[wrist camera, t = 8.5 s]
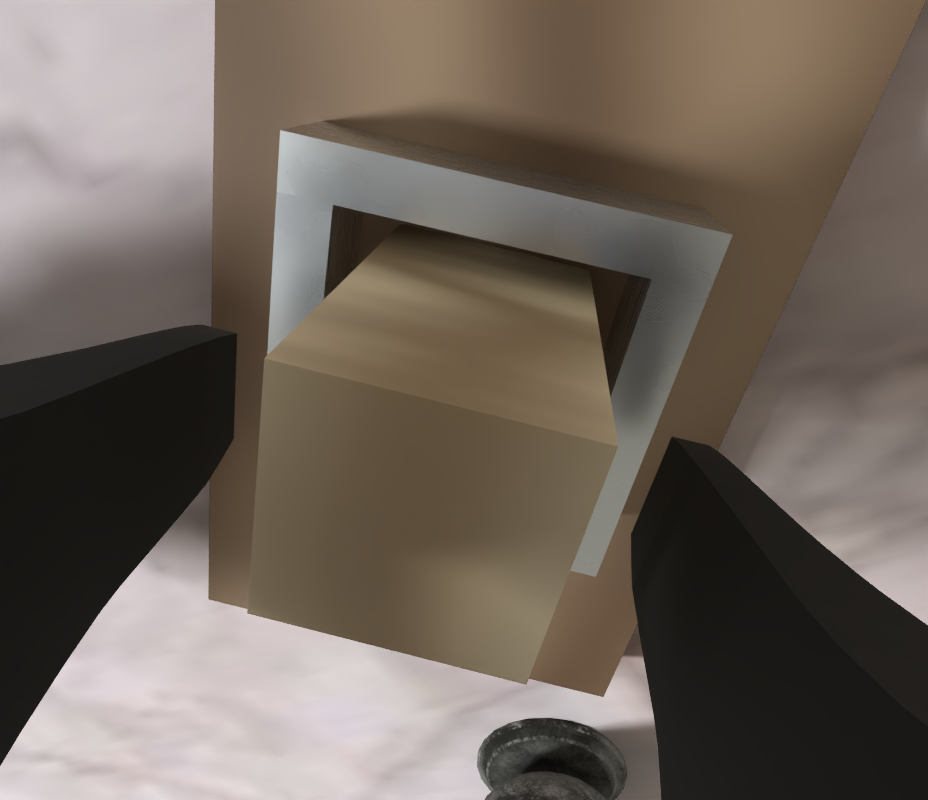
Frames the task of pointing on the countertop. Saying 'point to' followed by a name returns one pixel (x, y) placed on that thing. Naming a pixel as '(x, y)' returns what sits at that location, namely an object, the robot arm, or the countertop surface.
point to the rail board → (562, 153)
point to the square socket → (514, 224)
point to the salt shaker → (550, 762)
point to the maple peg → (433, 453)
